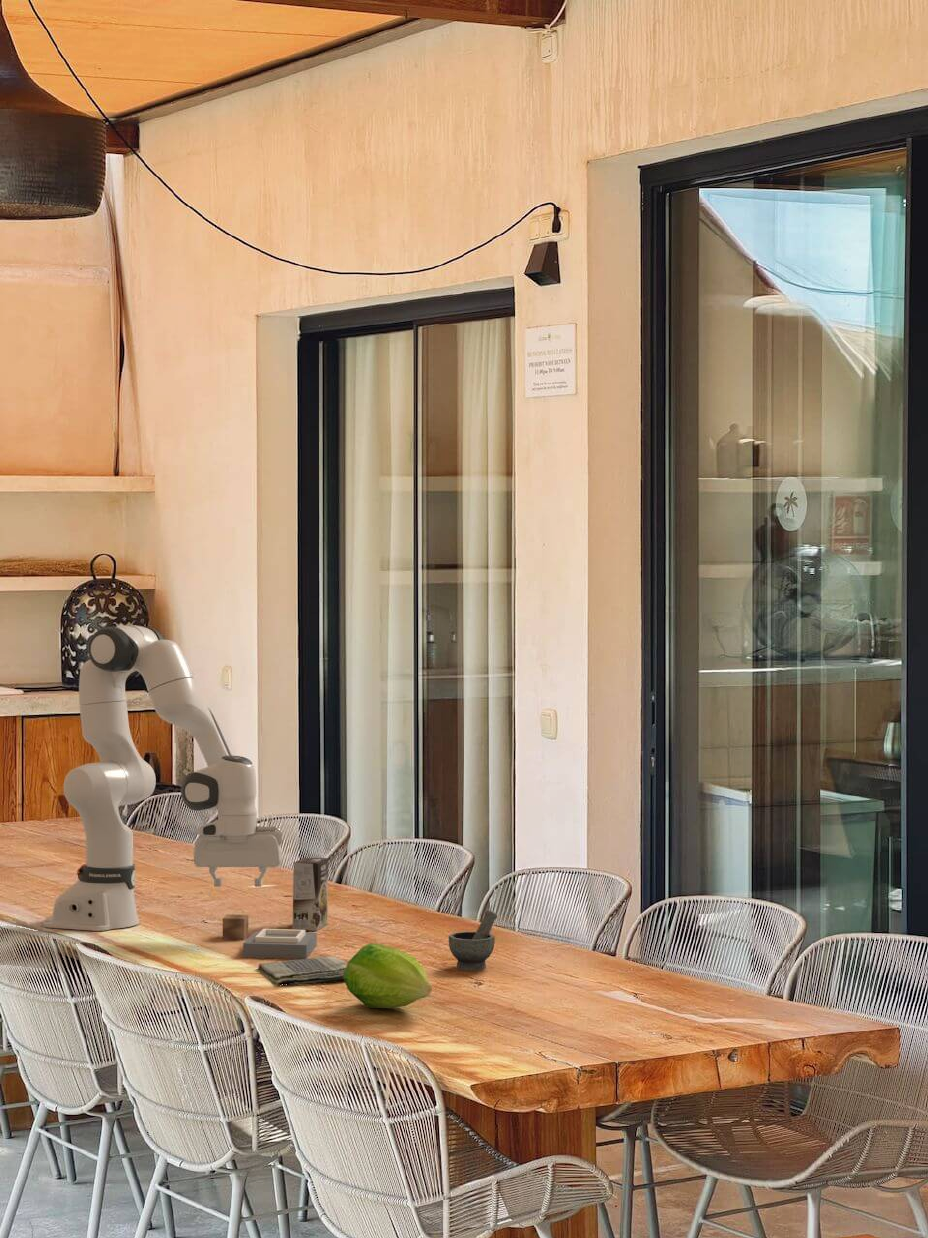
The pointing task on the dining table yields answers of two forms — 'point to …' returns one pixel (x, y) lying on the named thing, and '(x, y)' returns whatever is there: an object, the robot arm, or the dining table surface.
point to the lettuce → (386, 977)
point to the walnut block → (235, 927)
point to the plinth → (280, 944)
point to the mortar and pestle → (474, 945)
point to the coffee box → (310, 893)
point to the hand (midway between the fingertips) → (238, 886)
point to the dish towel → (305, 971)
